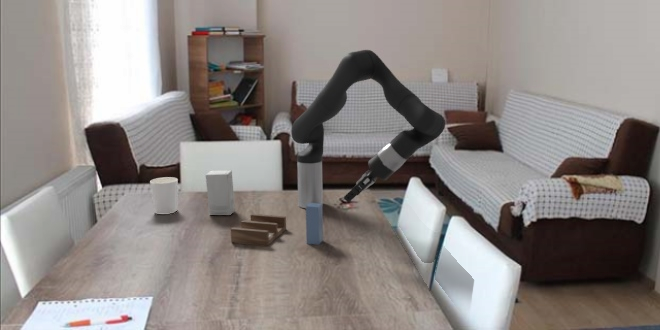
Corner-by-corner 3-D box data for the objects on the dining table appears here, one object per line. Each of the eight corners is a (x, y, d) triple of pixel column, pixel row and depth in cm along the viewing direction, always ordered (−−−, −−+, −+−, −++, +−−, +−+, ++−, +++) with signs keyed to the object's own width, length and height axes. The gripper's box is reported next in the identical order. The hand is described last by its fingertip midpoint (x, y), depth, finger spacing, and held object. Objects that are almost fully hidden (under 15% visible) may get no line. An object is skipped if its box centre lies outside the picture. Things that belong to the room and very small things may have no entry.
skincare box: (235, 211, 217) (233, 170, 213) (230, 216, 210) (228, 174, 207) (213, 210, 217) (210, 169, 214) (207, 216, 211) (205, 173, 208)
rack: (252, 226, 199) (252, 213, 198) (286, 229, 196) (285, 216, 195) (231, 242, 184) (230, 228, 183) (267, 246, 180) (266, 232, 179)
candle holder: (150, 210, 219) (148, 178, 217) (177, 206, 223) (175, 176, 221) (154, 217, 211) (152, 184, 208) (182, 213, 215) (180, 181, 212)
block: (310, 239, 186) (310, 202, 183) (322, 240, 185) (322, 203, 182) (306, 243, 182) (305, 206, 180) (319, 244, 181) (318, 207, 178)
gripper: (383, 147, 178) (347, 181, 184) (373, 156, 165) (334, 193, 170) (400, 165, 178) (363, 199, 183) (392, 175, 164) (352, 212, 170)
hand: (349, 196), depth 177 cm, fingers open, 8 cm apart
